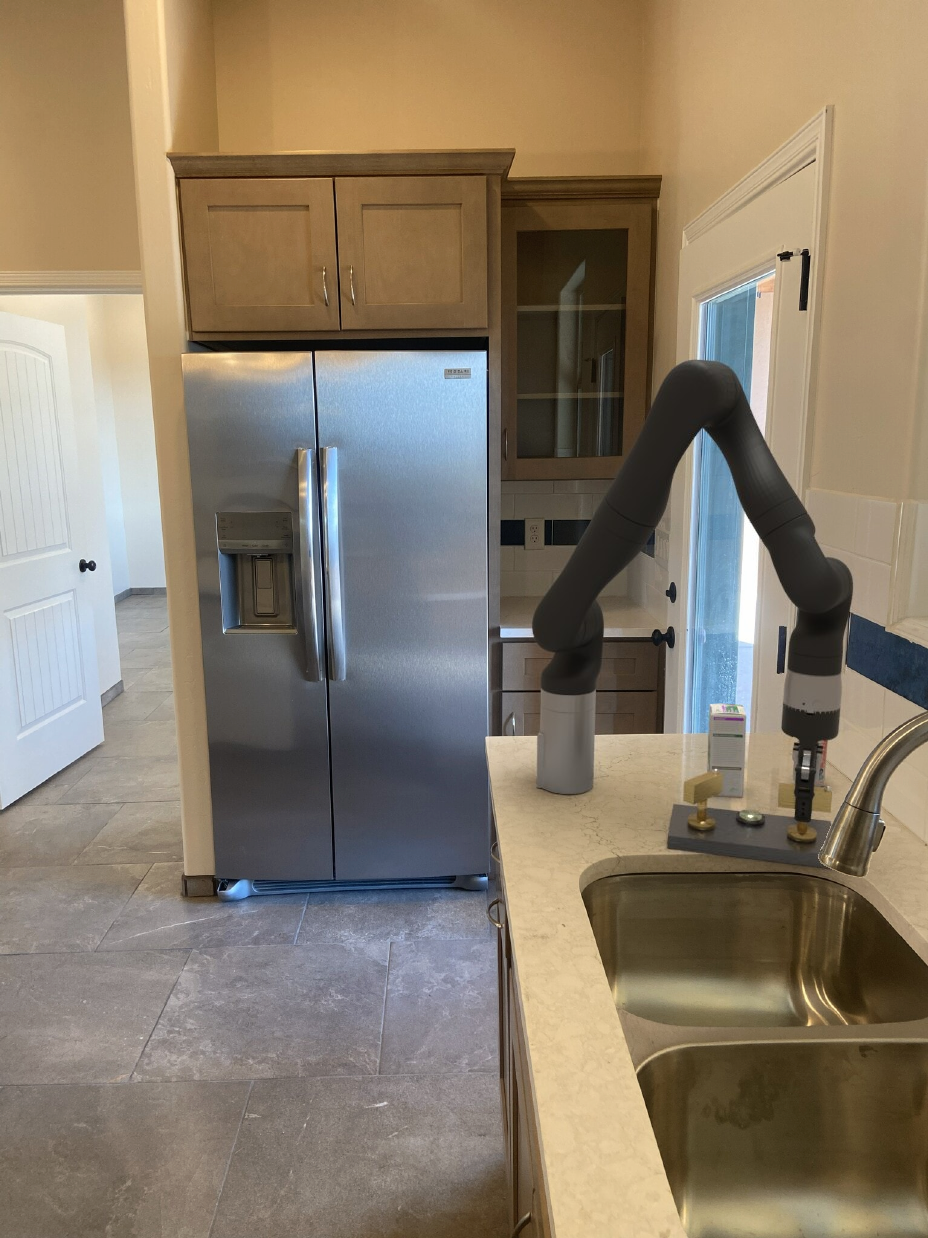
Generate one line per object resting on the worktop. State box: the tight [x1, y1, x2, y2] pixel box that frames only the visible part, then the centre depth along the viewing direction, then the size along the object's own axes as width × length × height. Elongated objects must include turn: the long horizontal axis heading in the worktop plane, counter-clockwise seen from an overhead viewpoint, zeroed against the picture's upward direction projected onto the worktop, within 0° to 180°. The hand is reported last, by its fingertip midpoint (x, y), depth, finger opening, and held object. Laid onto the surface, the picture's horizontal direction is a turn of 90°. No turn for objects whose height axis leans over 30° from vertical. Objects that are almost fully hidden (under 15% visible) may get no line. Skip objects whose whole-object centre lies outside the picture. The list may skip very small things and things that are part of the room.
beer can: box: [797, 739, 829, 787], centre depth 153 cm, size 5×5×12 cm
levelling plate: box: [666, 803, 832, 869], centre depth 132 cm, size 23×12×3 cm, turn 73°
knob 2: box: [777, 782, 833, 842], centre depth 128 cm, size 7×4×8 cm, turn 73°
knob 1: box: [682, 769, 723, 830], centre depth 132 cm, size 7×4×8 cm, turn 130°
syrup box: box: [706, 703, 747, 799], centre depth 150 cm, size 6×6×14 cm
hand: (802, 817), depth 128 cm, fingers closed on knob 2, 2 cm apart
